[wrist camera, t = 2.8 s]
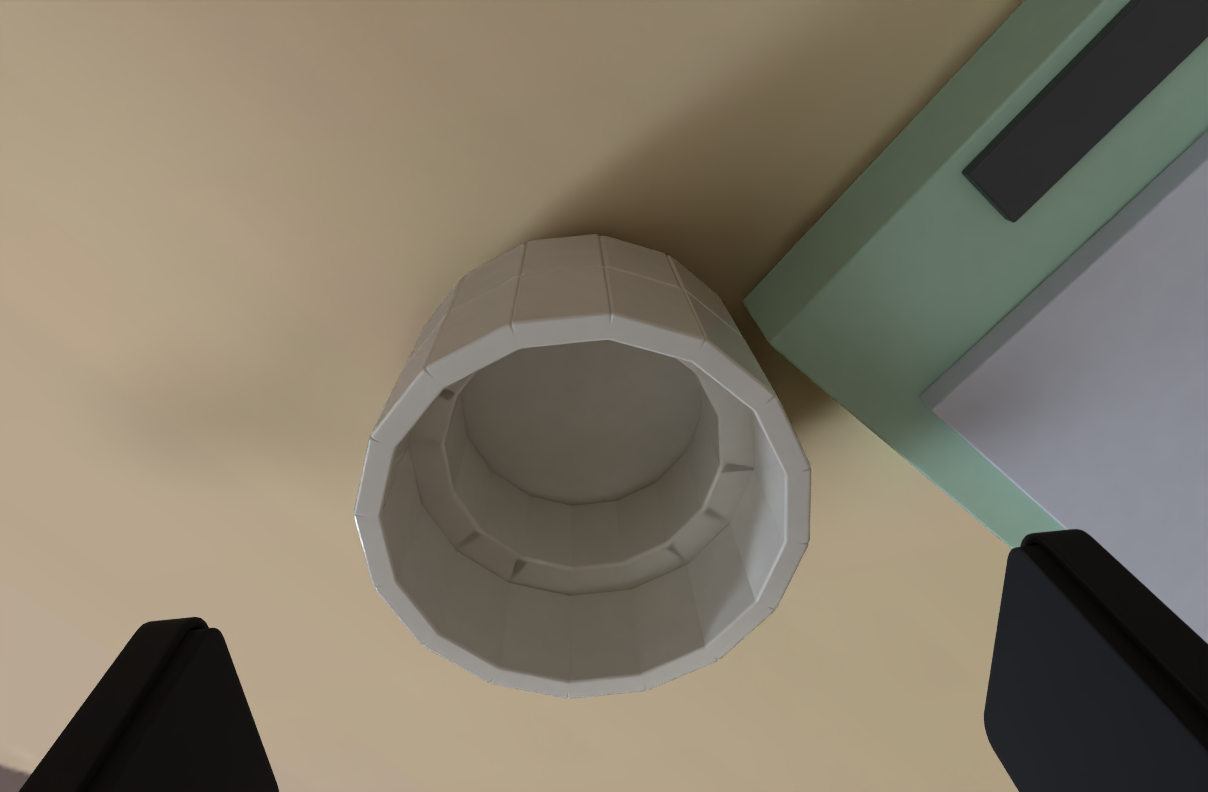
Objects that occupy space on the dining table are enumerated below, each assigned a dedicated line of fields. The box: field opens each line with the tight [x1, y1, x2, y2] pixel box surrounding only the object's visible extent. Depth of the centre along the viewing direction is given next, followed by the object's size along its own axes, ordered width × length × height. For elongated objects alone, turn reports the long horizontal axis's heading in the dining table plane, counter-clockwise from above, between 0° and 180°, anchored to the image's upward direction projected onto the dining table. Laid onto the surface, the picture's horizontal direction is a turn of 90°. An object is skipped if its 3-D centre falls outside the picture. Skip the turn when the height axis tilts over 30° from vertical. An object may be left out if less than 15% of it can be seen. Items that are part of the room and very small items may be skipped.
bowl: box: [354, 234, 811, 699], centre depth 14 cm, size 7×7×5 cm
